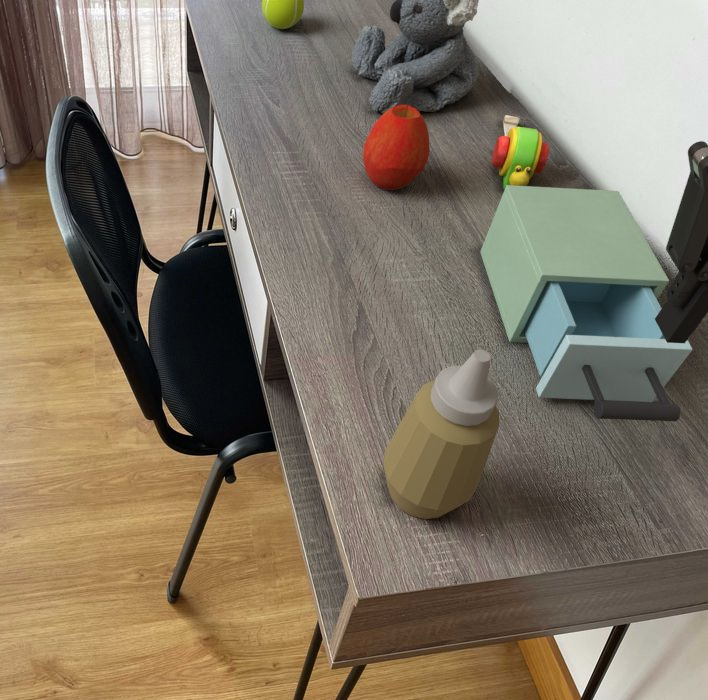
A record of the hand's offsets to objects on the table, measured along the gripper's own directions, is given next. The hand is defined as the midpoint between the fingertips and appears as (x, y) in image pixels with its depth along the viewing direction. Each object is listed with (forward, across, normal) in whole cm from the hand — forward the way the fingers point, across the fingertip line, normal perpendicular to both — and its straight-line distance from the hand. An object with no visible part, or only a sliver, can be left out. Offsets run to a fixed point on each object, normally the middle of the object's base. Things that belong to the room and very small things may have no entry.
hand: (669, 330), depth 61 cm
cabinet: (+13, 0, -18) cm, 23 cm away
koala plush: (+13, +8, -64) cm, 65 cm away
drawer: (+13, 0, -7) cm, 14 cm away
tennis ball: (+13, +28, -82) cm, 88 cm away
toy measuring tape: (+13, -2, -46) cm, 48 cm away
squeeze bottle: (+14, +19, +8) cm, 25 cm away
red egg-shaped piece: (+14, +15, -39) cm, 44 cm away
